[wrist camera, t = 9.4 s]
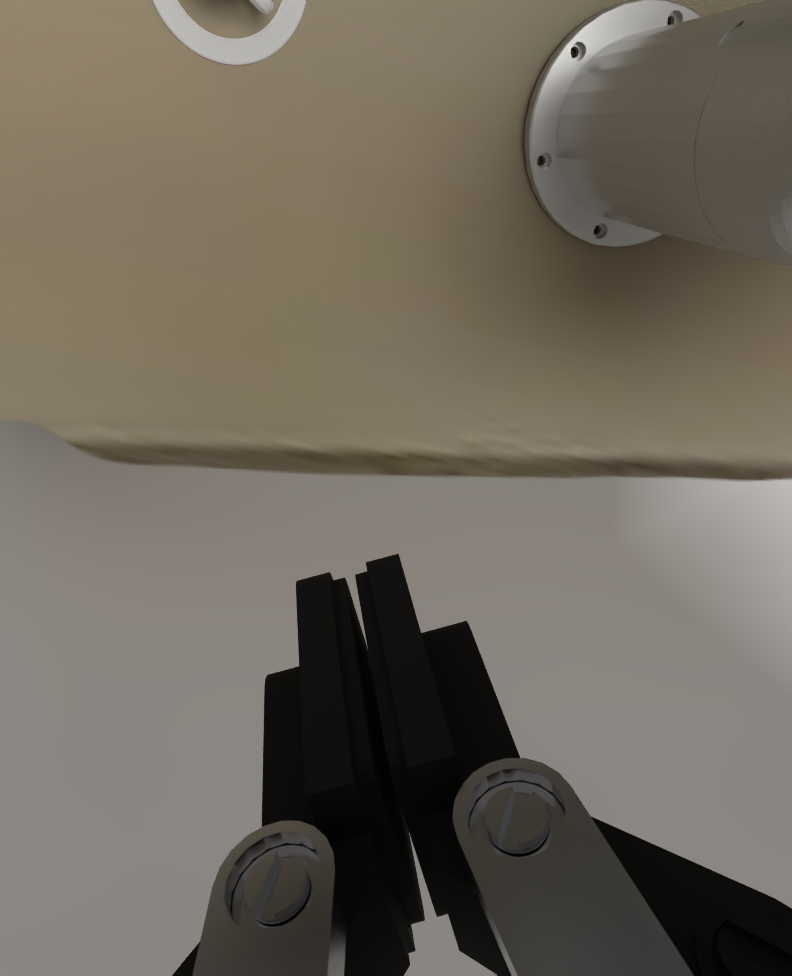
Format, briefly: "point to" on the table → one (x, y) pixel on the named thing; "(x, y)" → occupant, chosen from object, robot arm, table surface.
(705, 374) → the table surface
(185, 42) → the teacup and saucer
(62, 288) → the table surface
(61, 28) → the table surface
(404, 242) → the table surface
